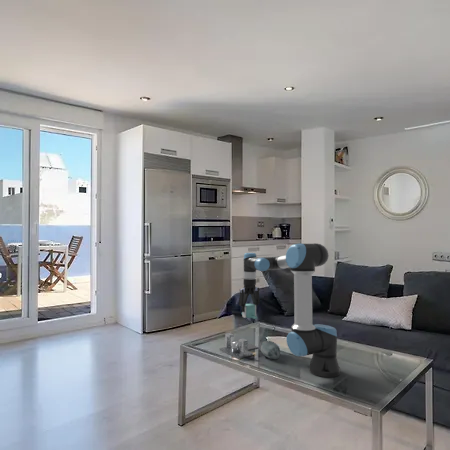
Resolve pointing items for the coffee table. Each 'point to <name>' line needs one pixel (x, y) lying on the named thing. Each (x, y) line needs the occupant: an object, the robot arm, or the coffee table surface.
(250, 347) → the pad
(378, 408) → the coffee table surface
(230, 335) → the grey metal fixture
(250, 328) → the coffee table surface
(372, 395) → the coffee table surface
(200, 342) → the coffee table surface
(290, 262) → the robot arm
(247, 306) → the cap
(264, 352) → the grey green ovoid
